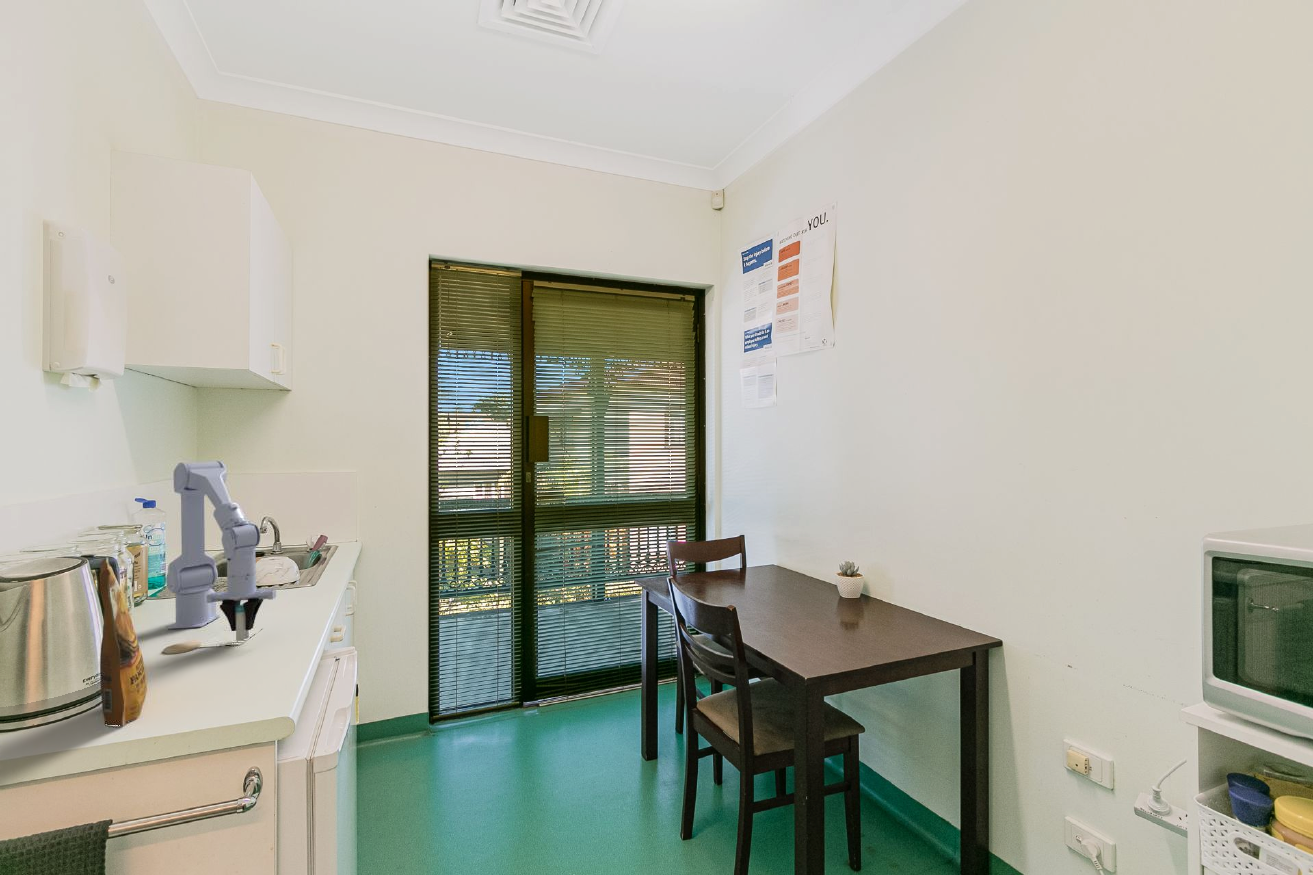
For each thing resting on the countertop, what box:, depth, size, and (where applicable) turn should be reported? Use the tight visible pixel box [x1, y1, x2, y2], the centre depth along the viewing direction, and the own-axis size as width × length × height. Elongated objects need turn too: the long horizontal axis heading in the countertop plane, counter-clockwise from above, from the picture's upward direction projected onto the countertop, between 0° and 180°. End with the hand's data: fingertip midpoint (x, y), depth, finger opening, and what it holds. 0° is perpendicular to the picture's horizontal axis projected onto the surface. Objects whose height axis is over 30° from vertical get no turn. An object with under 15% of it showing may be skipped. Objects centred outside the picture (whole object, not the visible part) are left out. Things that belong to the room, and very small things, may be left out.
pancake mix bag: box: [99, 556, 148, 727], centre depth 109 cm, size 7×19×28 cm, turn 36°
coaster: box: [162, 641, 202, 655], centre depth 141 cm, size 7×7×1 cm
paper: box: [197, 630, 250, 649], centre depth 148 cm, size 12×9×1 cm
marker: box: [235, 603, 249, 640], centre depth 146 cm, size 3×3×8 cm
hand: (242, 629), depth 146 cm, fingers closed on marker, 3 cm apart
